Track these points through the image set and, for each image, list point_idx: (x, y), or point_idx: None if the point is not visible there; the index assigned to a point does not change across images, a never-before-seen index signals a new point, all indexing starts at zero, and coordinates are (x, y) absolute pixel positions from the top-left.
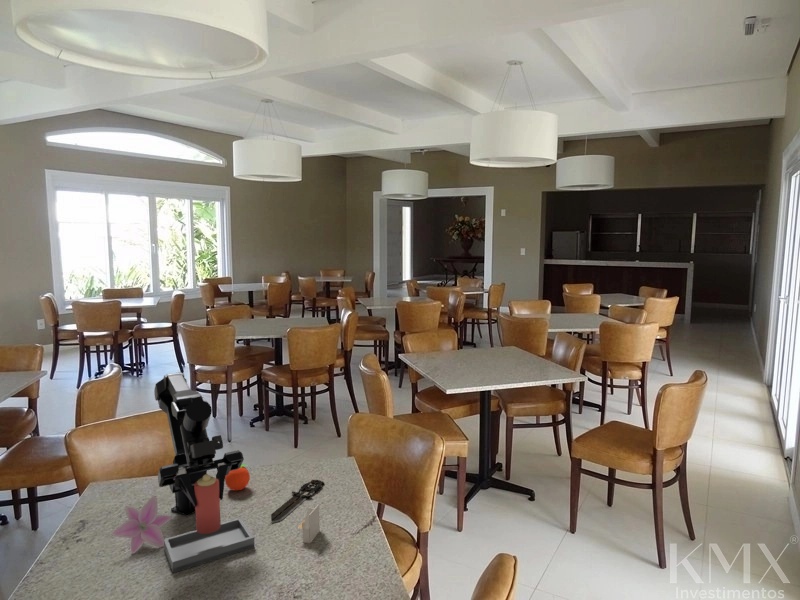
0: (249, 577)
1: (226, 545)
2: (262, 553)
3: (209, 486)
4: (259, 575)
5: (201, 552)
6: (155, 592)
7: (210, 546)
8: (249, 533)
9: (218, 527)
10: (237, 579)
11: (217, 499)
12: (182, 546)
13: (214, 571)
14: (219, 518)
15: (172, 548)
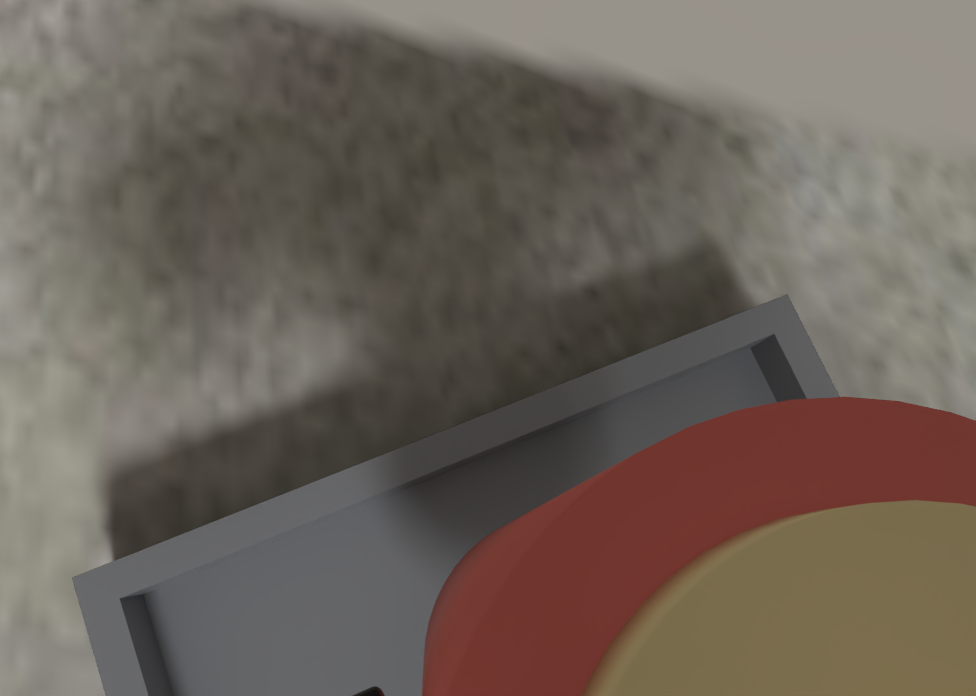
0: (166, 148)
1: (353, 472)
2: (46, 457)
3: (707, 500)
4: (89, 155)
5: (573, 397)
6: (797, 128)
7: None
8: (120, 674)
9: (441, 590)
10: (255, 144)
11: (448, 617)
12: None
13: (438, 278)
14: (429, 628)
15: None
